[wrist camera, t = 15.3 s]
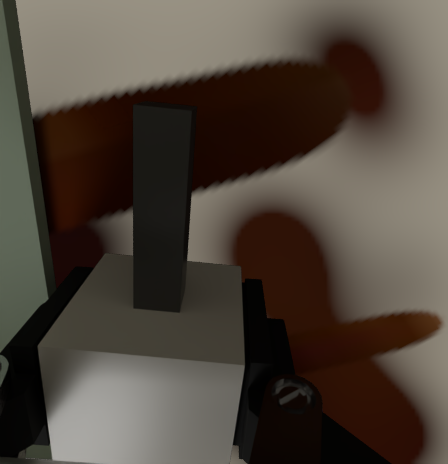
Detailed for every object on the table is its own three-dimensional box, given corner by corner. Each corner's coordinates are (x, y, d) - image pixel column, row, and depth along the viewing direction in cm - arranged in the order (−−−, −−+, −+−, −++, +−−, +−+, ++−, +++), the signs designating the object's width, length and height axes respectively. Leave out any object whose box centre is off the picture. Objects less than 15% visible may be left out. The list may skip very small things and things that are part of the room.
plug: (115, 548, 19) (82, 682, 14) (99, 91, 10) (5, 101, 6) (202, 555, 19) (194, 691, 15) (261, 108, 10) (281, 129, 6)
